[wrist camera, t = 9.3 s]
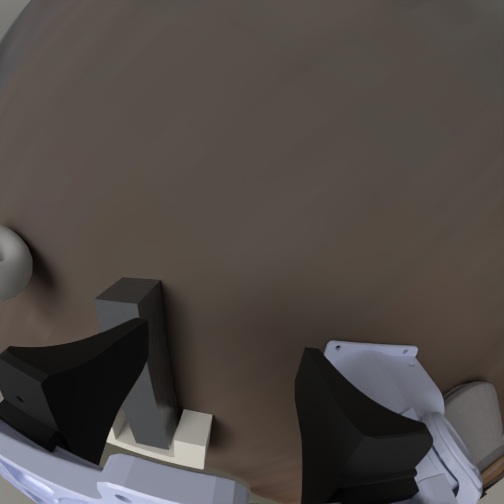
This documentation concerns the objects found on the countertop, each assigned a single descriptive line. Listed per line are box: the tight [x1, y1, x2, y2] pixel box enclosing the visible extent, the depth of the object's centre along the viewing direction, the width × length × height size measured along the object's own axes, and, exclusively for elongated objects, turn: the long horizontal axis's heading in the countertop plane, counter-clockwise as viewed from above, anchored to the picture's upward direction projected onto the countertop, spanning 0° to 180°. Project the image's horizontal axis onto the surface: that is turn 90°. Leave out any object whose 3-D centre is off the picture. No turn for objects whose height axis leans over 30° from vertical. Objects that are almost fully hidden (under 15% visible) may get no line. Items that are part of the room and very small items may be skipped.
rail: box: [95, 277, 180, 450], centre depth 22 cm, size 4×16×5 cm, turn 179°
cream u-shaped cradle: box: [106, 406, 212, 469], centre depth 24 cm, size 12×5×4 cm, turn 81°
